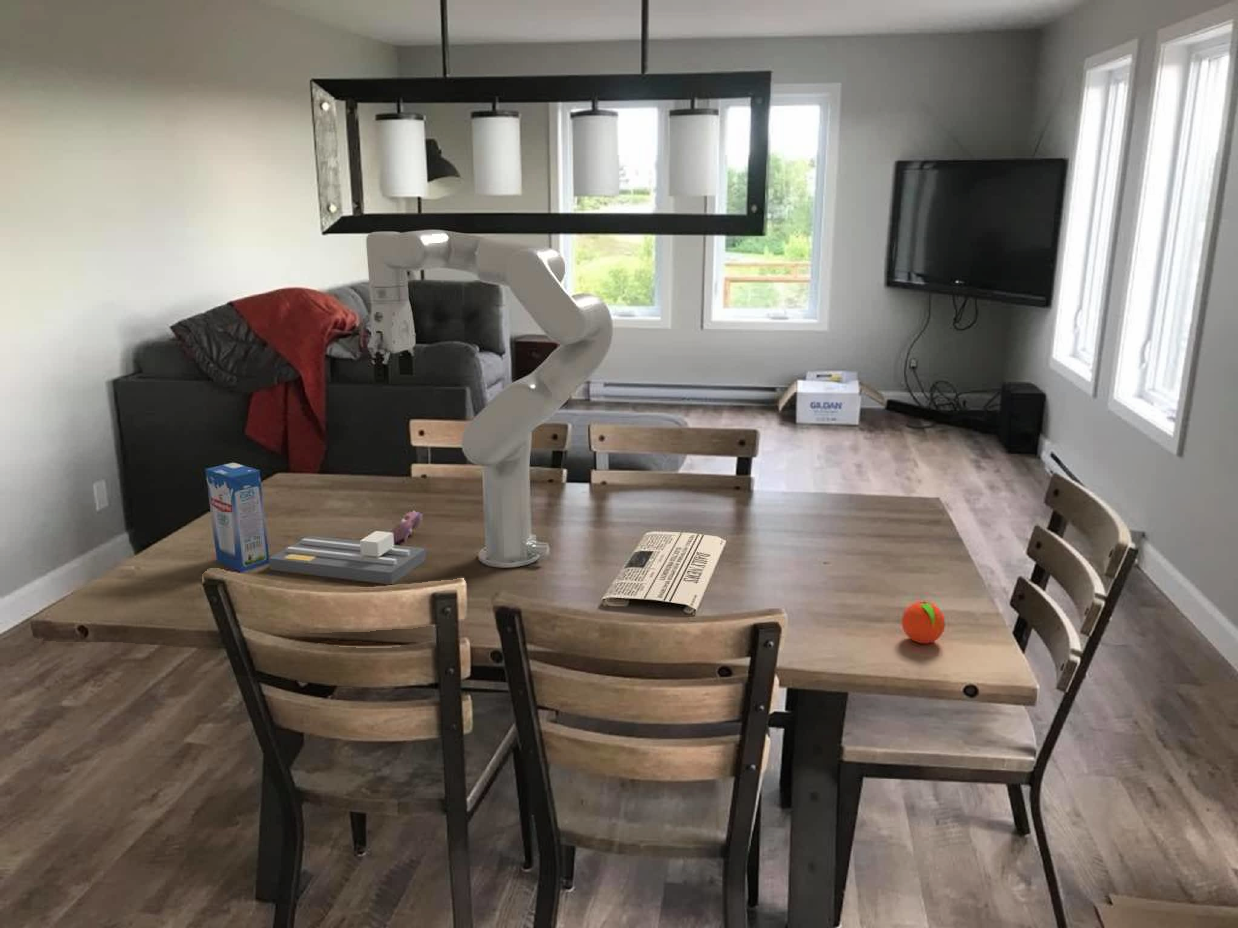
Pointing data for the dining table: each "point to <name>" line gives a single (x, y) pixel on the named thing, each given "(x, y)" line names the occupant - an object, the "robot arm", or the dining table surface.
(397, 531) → the video game controller
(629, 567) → the newspaper
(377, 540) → the fader knob
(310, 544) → the fader console
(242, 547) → the milk carton
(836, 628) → the dining table surface
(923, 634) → the clementine
